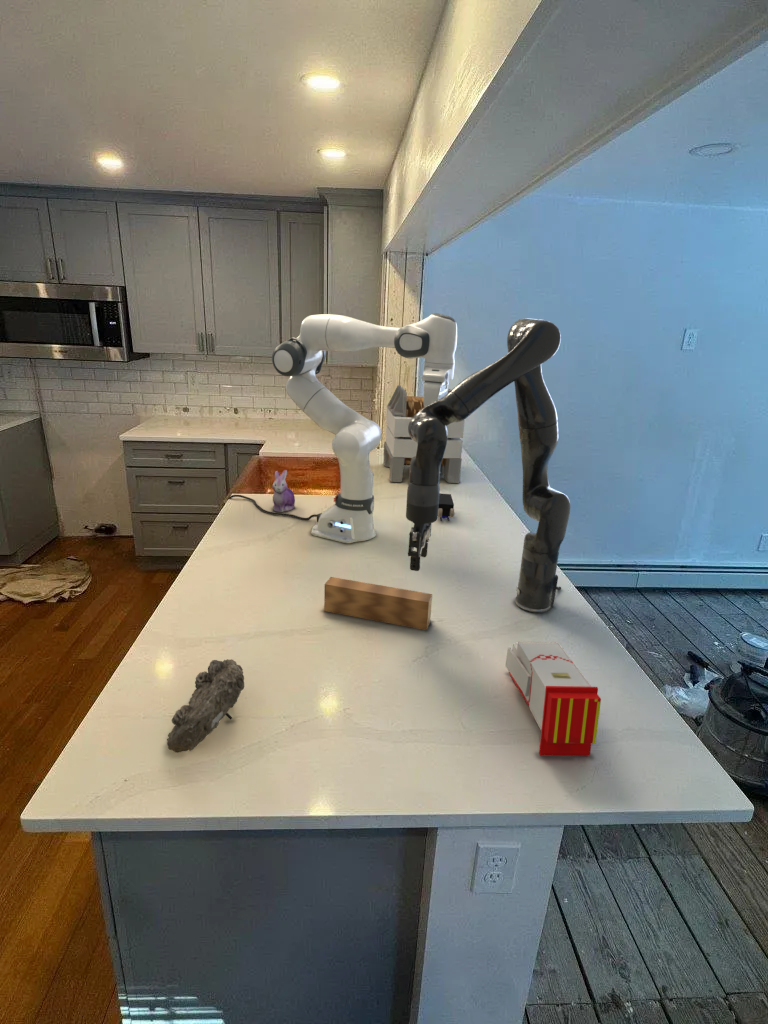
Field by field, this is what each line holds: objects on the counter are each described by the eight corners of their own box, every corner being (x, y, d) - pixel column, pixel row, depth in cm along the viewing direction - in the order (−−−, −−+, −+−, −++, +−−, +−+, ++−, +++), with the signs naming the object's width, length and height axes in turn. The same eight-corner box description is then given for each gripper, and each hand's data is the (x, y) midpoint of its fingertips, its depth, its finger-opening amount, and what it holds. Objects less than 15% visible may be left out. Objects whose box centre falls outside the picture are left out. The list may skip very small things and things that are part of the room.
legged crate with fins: (382, 463, 289) (386, 382, 275) (445, 464, 293) (451, 384, 279) (390, 482, 257) (394, 392, 243) (460, 483, 261) (468, 394, 247)
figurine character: (454, 527, 212) (449, 509, 225) (456, 508, 209) (451, 492, 222) (436, 526, 212) (433, 508, 225) (438, 508, 208) (434, 491, 222)
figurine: (275, 514, 213) (275, 475, 208) (268, 505, 221) (266, 468, 216) (299, 511, 217) (299, 473, 212) (291, 502, 225) (290, 466, 220)
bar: (324, 611, 147) (324, 584, 145) (330, 603, 151) (330, 576, 149) (426, 630, 141) (428, 602, 138) (430, 621, 145) (432, 594, 142)
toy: (554, 624, 127) (610, 694, 97) (548, 679, 130) (602, 763, 100) (500, 623, 126) (541, 693, 97) (496, 678, 129) (534, 763, 100)
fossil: (192, 660, 117) (244, 628, 112) (224, 691, 120) (276, 661, 115) (142, 746, 98) (202, 712, 93) (182, 779, 101) (242, 748, 96)
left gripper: (434, 368, 177) (430, 412, 181) (421, 375, 158) (417, 424, 163) (454, 370, 175) (450, 415, 180) (443, 377, 156) (438, 426, 161)
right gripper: (432, 511, 125) (427, 577, 131) (444, 493, 138) (439, 554, 144) (399, 507, 127) (396, 572, 132) (414, 489, 140) (410, 549, 145)
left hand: (434, 419), depth 171 cm, fingers open, 8 cm apart
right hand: (418, 563), depth 138 cm, fingers open, 8 cm apart
